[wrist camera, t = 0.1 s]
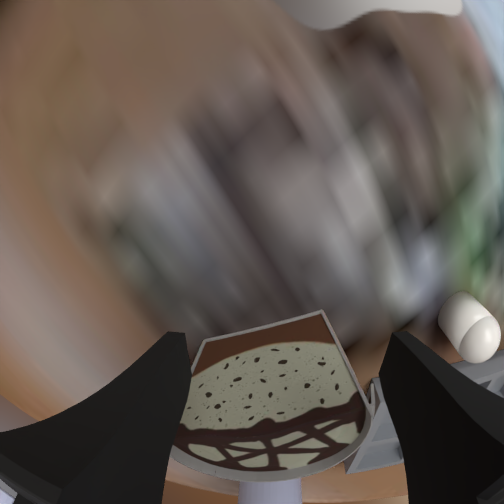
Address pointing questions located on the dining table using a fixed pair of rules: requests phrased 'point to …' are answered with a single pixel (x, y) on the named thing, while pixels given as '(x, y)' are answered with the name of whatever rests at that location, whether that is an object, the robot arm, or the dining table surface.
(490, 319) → the egg
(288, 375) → the food container
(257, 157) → the dining table surface
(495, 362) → the grey compartment tray
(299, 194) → the dining table surface
